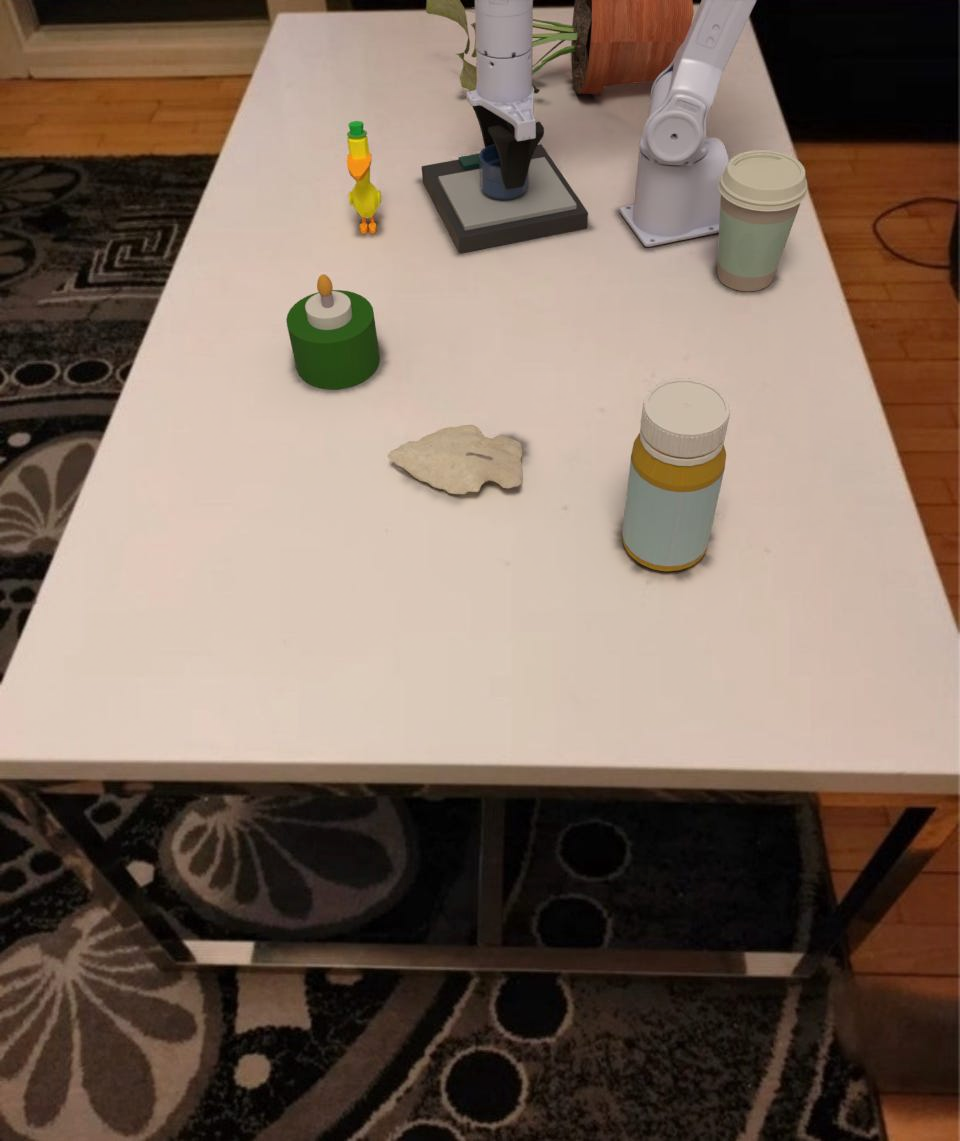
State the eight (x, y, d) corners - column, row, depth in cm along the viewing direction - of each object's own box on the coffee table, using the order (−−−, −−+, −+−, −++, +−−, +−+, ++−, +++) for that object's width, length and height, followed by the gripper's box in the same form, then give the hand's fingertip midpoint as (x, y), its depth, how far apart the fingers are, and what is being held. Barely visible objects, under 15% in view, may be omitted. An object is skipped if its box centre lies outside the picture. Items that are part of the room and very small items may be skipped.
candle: (314, 399, 97) (296, 312, 89) (284, 352, 101) (264, 265, 94) (393, 372, 99) (382, 284, 91) (360, 326, 104) (347, 240, 96)
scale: (541, 159, 124) (541, 139, 122) (587, 228, 114) (588, 207, 112) (422, 181, 121) (421, 161, 119) (459, 253, 111) (458, 232, 109)
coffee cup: (791, 259, 109) (816, 153, 99) (779, 306, 104) (804, 198, 94) (712, 247, 111) (729, 141, 101) (696, 291, 106) (713, 185, 96)
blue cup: (520, 171, 116) (520, 138, 113) (535, 196, 113) (536, 162, 110) (474, 180, 116) (473, 146, 112) (488, 205, 112) (488, 171, 109)
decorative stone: (520, 509, 88) (524, 484, 86) (383, 497, 87) (384, 471, 85) (519, 446, 93) (523, 420, 91) (390, 434, 93) (391, 408, 90)
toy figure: (382, 246, 113) (369, 142, 103) (350, 247, 113) (335, 144, 103) (385, 213, 117) (373, 111, 108) (354, 214, 117) (340, 112, 108)
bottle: (615, 516, 86) (629, 378, 74) (696, 509, 86) (723, 370, 74) (629, 579, 81) (647, 443, 70) (715, 572, 82) (747, 435, 70)
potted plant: (659, 70, 141) (408, 64, 138) (682, -49, 129) (408, -57, 126) (680, 131, 132) (411, 127, 129) (707, 9, 120) (411, 2, 117)
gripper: (447, 23, 106) (453, 147, 117) (487, 84, 97) (490, 212, 108) (511, 13, 107) (511, 137, 118) (556, 72, 98) (553, 200, 109)
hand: (505, 172), depth 113 cm, fingers closed on blue cup, 5 cm apart
